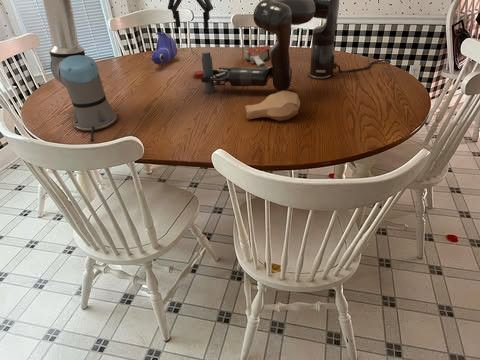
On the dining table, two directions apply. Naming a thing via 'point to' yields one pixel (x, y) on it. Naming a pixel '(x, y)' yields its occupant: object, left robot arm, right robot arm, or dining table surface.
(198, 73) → the lid
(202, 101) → the dining table surface
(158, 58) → the toy
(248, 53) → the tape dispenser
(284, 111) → the squash
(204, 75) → the dark grey piece
